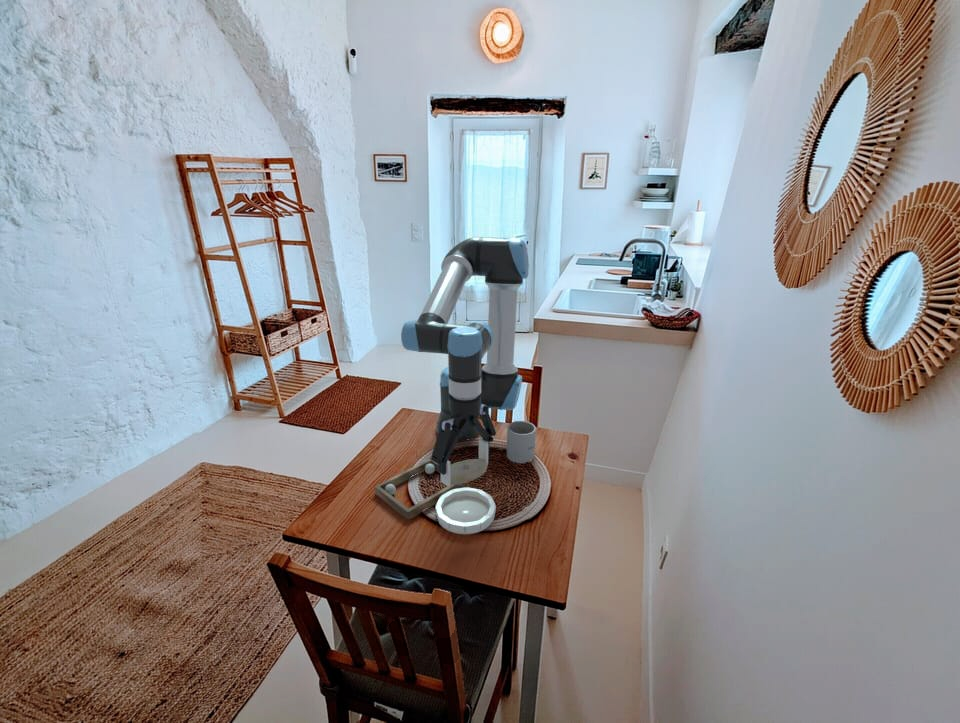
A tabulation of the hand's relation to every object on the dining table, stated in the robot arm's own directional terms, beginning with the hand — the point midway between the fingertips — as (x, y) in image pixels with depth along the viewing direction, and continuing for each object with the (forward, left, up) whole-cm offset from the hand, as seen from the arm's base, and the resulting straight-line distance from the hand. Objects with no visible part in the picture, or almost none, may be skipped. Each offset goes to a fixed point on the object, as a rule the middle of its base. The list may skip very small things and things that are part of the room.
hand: (465, 472), depth 117 cm
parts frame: (+2, -16, -13) cm, 21 cm away
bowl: (0, 0, -13) cm, 13 cm away
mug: (-33, -8, -13) cm, 37 cm away
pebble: (+9, -21, -13) cm, 26 cm away
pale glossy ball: (-5, -21, -13) cm, 25 cm away
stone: (0, 0, -2) cm, 2 cm away
